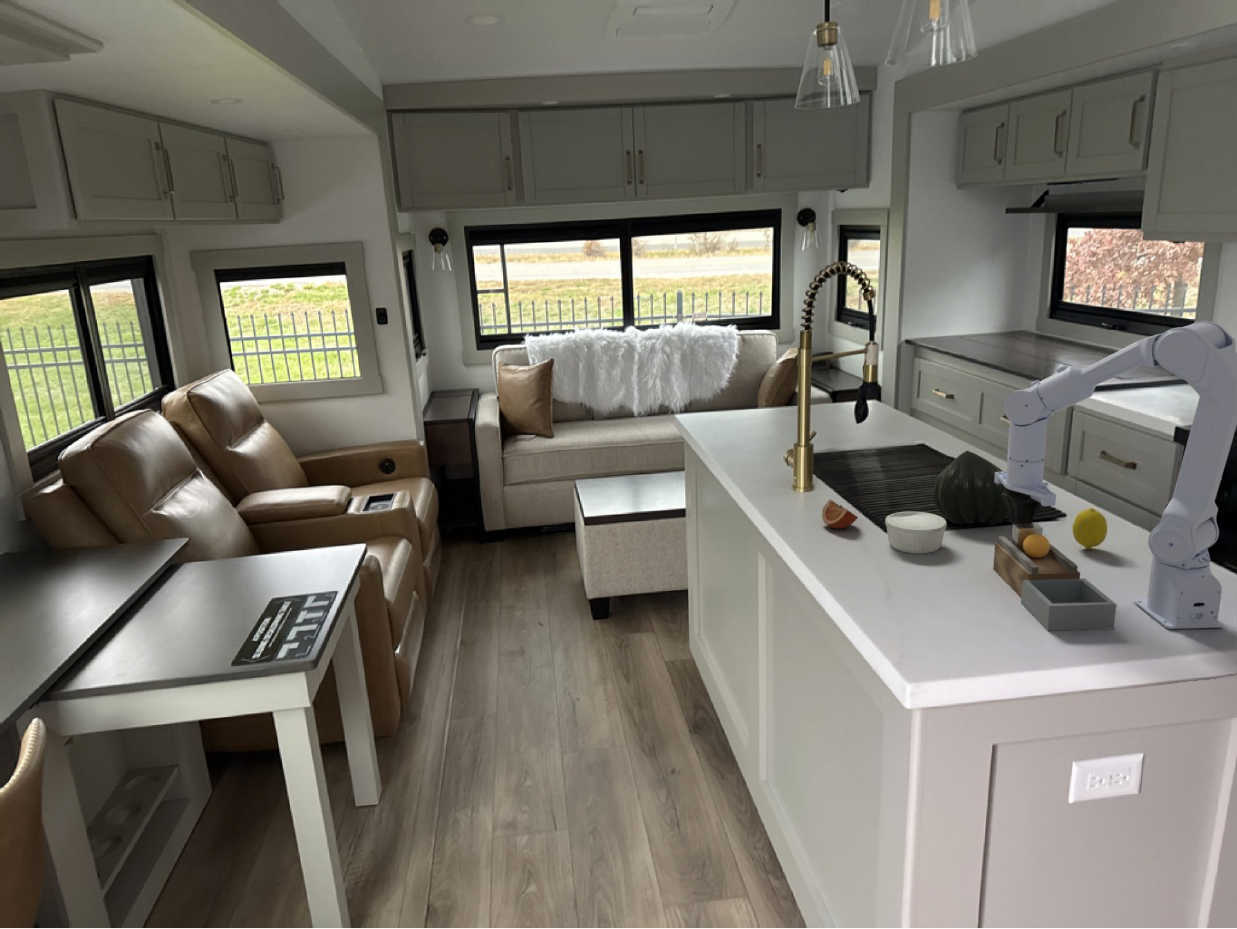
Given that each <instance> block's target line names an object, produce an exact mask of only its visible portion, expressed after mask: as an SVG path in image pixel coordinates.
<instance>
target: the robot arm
mask: <svg viewBox="0 0 1237 929" xmlns="http://www.w3.org/2000/svg"><path fill="white" fill-rule="evenodd" d="M1236 348H1237V341H1236V339H1235V338H1234V337H1233V336H1232V335H1231V334H1230V333H1229V332H1228V331H1227V330H1226V329H1225V328H1223V327H1222V326H1221V325H1220V324H1218V323H1217V322H1213V321H1208V320H1200V321H1195V322H1192V323H1190V324H1189V325H1186V326H1183V327H1182V326H1181V327H1180V326H1178V327H1173V328H1170V329H1168V330H1166V331H1164V332H1162V333H1159V334H1158V333H1157V334H1155V335H1151V336H1149V337H1145V338H1142V339H1140V340H1139V339H1138V340H1137V341H1135V342H1133V343H1131V344H1129V345H1127V346H1126V347H1124V348H1122V349H1120V350H1118V351H1115V352H1114V353H1112V354H1110V355H1108V356H1107V357H1105V358H1102V359H1101V360H1099V361H1097V362H1095V363H1093V364H1091V365H1089V366H1087V367H1082V366H1081V365H1080V366H1079V365H1074V364H1072V365H1070V366H1068V364H1066V365H1062V366H1060V367H1058V368H1056V370H1055V371H1056V373H1054V374H1052V375H1051V376H1048V377H1046V378H1044V379H1042V380H1041V381H1040V380H1039V379H1035V380H1034V381H1032V382H1030V387H1028V388H1025V389H1017V390H1014V392H1013V393H1011V394H1010V395H1009V396H1007V398H1006V399H1005V401H1004V405H1003V408H1004V409H1003V410H1004V414H1005V416H1006V417H1007V419H1008V420H1009V426H1008V441H1007V442H1008V443H1007V458H1006V459H1007V460H1006V470H1004V471H1003V470H1002V471H1003V472H995V479H994V482H995V483H997V484H1000V483H1001V484H1003V485H1004V486H1005V487H1006V488H1007V489H1009V490H1010V491H1009V492H1004V493H1002V495H1001V497H1002V498H1003V500H1004V502H1005V504H1006V506H1007V509H1008V512H1009V513H1008V515H1009V520H1010V525H1011V530H1013V524H1025V523H1033V520H1034V518H1035V516H1036V514H1037V512H1038V511H1039V510H1040V508H1041V507H1042V506H1043V507H1050V506H1056V502H1057V494H1056V493H1055V492H1052V491H1051V490H1050V489H1049V488H1048V486H1049V481H1047V480H1045V479H1044V472H1045V461H1046V460H1045V458H1046V446H1047V444H1046V443H1047V433H1048V430H1047V429H1048V420H1049V419H1050V417H1051V416H1052V415H1053V414H1056V413H1058V412H1060V411H1063V410H1064V409H1067V408H1069V407H1072V406H1074V405H1076V404H1078V403H1081V402H1082V401H1083V402H1084V401H1085V400H1087V399H1089V398H1091V397H1092V396H1093V394H1094V392H1095V389H1096V387H1097V385H1100V384H1102V383H1105V382H1106V381H1109V380H1112V379H1114V378H1117V377H1119V376H1121V375H1123V374H1125V373H1128V372H1130V371H1132V370H1135V369H1138V368H1139V367H1147V368H1152V369H1153V368H1157V367H1162V368H1163V369H1165V370H1166V371H1168V372H1169V373H1171V374H1173V375H1174V376H1176V377H1178V378H1180V379H1182V380H1184V381H1186V383H1187V384H1188V385H1189V386H1190V387H1191V389H1193V391H1195V392H1196V393H1197V395H1198V396H1199V399H1198V402H1197V406H1196V409H1195V413H1194V417H1193V421H1192V424H1191V428H1190V431H1189V435H1188V439H1187V442H1186V446H1185V450H1184V454H1183V457H1182V462H1181V465H1180V468H1179V472H1178V476H1177V479H1176V483H1175V487H1174V491H1173V495H1172V498H1171V499H1170V501H1169V502H1168V505H1167V506H1166V507H1165V509H1164V511H1163V512H1162V515H1161V519H1160V521H1159V523H1158V524H1157V525H1156V526H1155V527H1154V528H1152V530H1151V531H1150V533H1149V534H1148V540H1147V544H1148V548H1149V550H1150V553H1152V557H1151V565H1150V573H1149V574H1150V575H1149V582H1148V592H1147V598H1141V599H1140V598H1138V599H1134V600H1133V602H1134V604H1135V605H1137V606H1138V607H1139V608H1140V609H1141V610H1143V611H1145V612H1146V613H1147V614H1148V615H1150V617H1152V618H1153V619H1154V620H1156V621H1157V622H1158V623H1160V624H1161V625H1162V626H1164V627H1165V628H1166V629H1168V630H1169V629H1170V630H1172V629H1173V630H1176V629H1177V630H1179V629H1181V630H1182V629H1211V628H1213V629H1214V628H1216V629H1217V628H1223V627H1224V624H1223V623H1222V622H1221V621H1219V613H1220V604H1221V600H1222V590H1223V589H1222V585H1221V582H1220V581H1219V580H1218V578H1217V577H1215V575H1214V574H1213V573H1212V570H1211V558H1210V557H1211V556H1210V553H1209V548H1211V547H1212V546H1213V545H1215V543H1216V542H1217V540H1218V538H1219V535H1220V529H1219V525H1218V524H1217V514H1218V511H1219V507H1218V506H1217V504H1216V502H1215V501H1216V499H1217V493H1218V491H1219V487H1220V484H1221V480H1222V477H1223V473H1224V470H1225V466H1226V464H1227V460H1228V457H1229V453H1230V451H1231V447H1232V442H1233V440H1234V437H1235V436H1234V435H1235V432H1236V429H1237V349H1236Z"/></svg>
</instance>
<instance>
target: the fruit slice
mask: <svg viewBox="0 0 1237 929" xmlns="http://www.w3.org/2000/svg"><path fill="white" fill-rule="evenodd" d="M821 512H822V513H821V517H822V521H823V523H824V524H825V525H827V526H828V527H830V528H833V529H836V528H837V529H838V528H840V529H845V528H847V527H849V526H851V525H852V524H854V523H855V522H856V521H857V520H858V518H859V517H858V515H855V514H854V513H853V512H851V511H849V510H848V509H847V508H846V507H843V505H842V504H839V503H836V502H835V501H834V500H833V499H828V501H827V502H826V503H825V505H824V506H823V508H822V511H821Z"/></svg>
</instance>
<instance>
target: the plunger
mask: <svg viewBox="0 0 1237 929" xmlns="http://www.w3.org/2000/svg"><path fill="white" fill-rule="evenodd" d="M1011 530H1012V529H1011ZM1011 532H1012V533H1011V542H1012V544H1013V545H1015V546H1016V547H1017V548H1018V549H1019V550H1020V551H1024V548H1023V543H1024V540H1025V539H1026V538H1027V537H1028V536H1029V535H1032V534H1040V535H1043V532H1044V528H1043V527H1042V526H1041V525H1040V524H1039V523H1038V522H1032V523H1025V524H1013V530H1012V531H1011Z"/></svg>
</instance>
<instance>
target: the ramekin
mask: <svg viewBox="0 0 1237 929" xmlns="http://www.w3.org/2000/svg"><path fill="white" fill-rule="evenodd" d="M884 524H885V526H886V530H887V531H886V532H887V537H888V538H887V539H888V543H889V544H890V545H891V547H892V548H893V549H895V550H897V551H900V552H904V553H907V554H917V555H918V554H921V555H922V554H930V553H933V552H935V551H936V552H937V550H939V549H940V548H941V546H942V545H943V544H942V543H943V541H944V540H943V539H944V535H945V530H946V528H947V521H946V518H945V517H942V516H940V515H937V514H933V513H929V512H923V511H901V512H895V513H892V514H889V515H887V516H886V517H885V521H884Z"/></svg>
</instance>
